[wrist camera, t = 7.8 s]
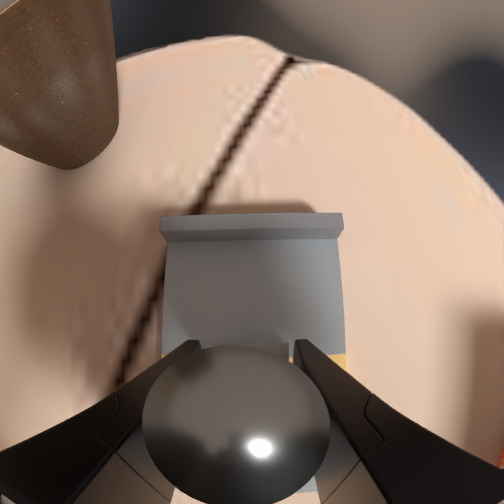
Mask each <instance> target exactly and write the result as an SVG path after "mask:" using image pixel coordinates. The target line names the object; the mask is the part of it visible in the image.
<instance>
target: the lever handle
mask: <svg viewBox="0 0 504 504" xmlns="http://www.w3.org/2000/svg"><path fill="white" fill-rule="evenodd" d="M142 430H143V437H144V441H145V444H146V448H147V450H148V453H149V455H150V457H151V459H152V461H153V462H154V464H155V466H156V467H157V468H158V470H159V471H160V472H161V474H162V475H163V476H164V477H165V478H166V479H167V480H168V481H169V482H170V483H171V484H172V485H174V486H175V487H176V488H177V489H179V490H180V491H182V492H183V493H185V494H187V495H188V496H190V497H192V498H194V499H196V500H198V501H201V502H204V503H207V504H273V503H276V502H278V501H281V500H283V499H285V498H287V497H289V496H291V495H292V494H294V493H295V492H297V491H298V490H300V489H301V488H302V487H303V486H304V485H305V484H307V483H308V482H309V481H310V480H311V478H312V477H313V476H314V475H315V474H316V472H317V471H318V469H319V468H320V466H321V464H322V463H323V460H324V458H325V456H326V453H327V450H328V446H329V441H330V419H329V414H328V410H327V407H326V404H325V401H324V399H323V397H322V395H321V393H320V392H319V390H318V388H317V387H316V386H315V384H314V383H313V382H312V380H311V379H310V378H309V377H308V376H307V375H306V374H305V373H304V372H303V371H302V370H300V369H299V368H298V367H297V366H295V365H294V364H293V363H291V362H289V342H288V343H214V347H209V348H205V349H201V350H198V351H195V352H193V353H190V354H188V355H186V356H184V357H182V358H181V359H179V360H177V361H176V362H174V363H173V364H172V365H170V366H169V367H168V368H167V369H166V370H165V371H164V372H163V373H162V374H161V375H160V376H159V377H158V378H157V380H156V381H155V383H154V384H153V386H152V387H151V389H150V391H149V393H148V395H147V398H146V401H145V405H144V409H143V415H142Z"/></svg>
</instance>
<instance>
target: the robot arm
mask: <svg viewBox="0 0 504 504" xmlns="http://www.w3.org/2000/svg"><path fill="white" fill-rule="evenodd" d="M201 349H202V348H201V343H200V341H199V340H191V339H189V340H186V341H185V342H184V343H182V344H181V345H179V346H178V347H177V348H175V349H174V350H173V351H171V352H170V353H168V354H167V355H166V356H164V357H163V358H162V359H160V360H159V361H157V362H156V363H155V364H153V365H152V366H150V367H149V368H148V369H146V370H145V371H143V372H142V373H141V374H139V375H138V376H136V377H135V378H134V379H132V380H131V381H129V382H128V383H126V384H125V385H124V386H122V387H121V388H119V389H118V390H117V392H116V391H114V392H113V393H111V394H110V395H108V396H107V397H105V398H104V399H102V400H101V401H99V402H98V403H96V404H95V405H93V406H91V407H89V408H88V409H86V410H84V411H82V412H81V413H79V414H77V415H75V416H73V417H71V418H69V419H67V420H65V421H63V422H61V423H59V424H57V425H55V426H53V427H51V428H49V429H47V430H45V431H43V432H41V433H39V434H37V435H35V436H33V437H31V438H29V439H27V440H25V441H22V442H20V443H18V444H16V445H14V446H12V447H9V448H7V449H5V450H3V451H0V504H170V503H171V502H170V501H171V500H172V496H173V492H174V488H175V486H174V485H172V484H171V483H170V482H169V481H168V480H167V479H166V478H165V477H164V476H163V475H162V474H161V472H160V471H159V470H158V468H157V467H156V466H155V464H154V462H153V461H152V459H151V457H150V455H149V453H148V450H147V448H146V444H145V441H144V437H143V430H142V415H143V409H144V405H145V401H146V398H147V395H148V393H149V391H150V389H151V387H152V386H153V384H154V383H155V381H156V380H157V378H158V377H159V376H160V375H161V374H162V373H163V372H164V371H165V370H166V369H167V368H168V367H169V366H170V365H172V364H173V363H174V362H176V361H177V360H179V359H181V358H182V357H184V356H186V355H188V354H190V353H193V352H195V351H198V350H201ZM293 364H294V365H295V366H297V367H298V368H299V369H300V370H302V371H303V372H304V373H305V374H306V375H307V376H308V377H309V378H310V379H311V380H312V382H313V383H314V384H315V386H316V387H317V388H318V390H319V392H320V393H321V395H322V397H323V399H324V401H325V404H326V407H327V410H328V414H329V419H330V441H329V446H328V450H327V453H326V456H325V458H324V460H323V463H322V464H321V466H320V468H319V469H318V471H317V472H316V474H315V475H314V477H315V481H316V485H317V490H318V494H319V498H320V503H321V504H504V468H498V467H496V466H494V465H492V464H490V463H488V462H486V461H484V460H482V459H480V458H478V457H476V456H474V455H472V454H470V453H468V452H467V451H465V450H463V449H461V448H459V447H457V446H455V445H454V444H452V443H450V442H448V441H446V440H445V439H443V438H441V437H439V436H438V435H436V434H434V433H432V432H431V431H429V430H427V429H426V428H424V427H422V426H420V425H419V424H417V423H415V422H414V421H412V420H410V419H409V418H407V417H406V416H404V415H402V414H401V413H399V412H398V411H396V410H395V409H393V408H392V407H391V406H389V405H388V404H387V403H385V402H384V401H383V400H381V399H380V398H379V397H377V396H376V395H375V394H374V393H372V394H371V391H369V390H368V389H367V388H366V387H364V386H363V385H362V384H361V383H360V382H358V381H357V380H356V379H355V378H353V377H352V376H351V375H350V374H349V373H347V372H346V371H345V370H344V369H342V368H341V367H340V366H339V365H338V364H336V363H335V362H334V361H333V360H332V359H330V358H329V357H328V356H327V355H326V354H324V353H323V352H322V351H321V350H320V349H319V348H317V347H316V346H315V345H314V344H313V343H311V342H310V341H309V340H308V339H296V340H295V342H294V351H293Z"/></svg>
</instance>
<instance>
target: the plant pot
mask: <svg viewBox="0 0 504 504" xmlns="http://www.w3.org/2000/svg"><path fill="white" fill-rule="evenodd" d="M118 123H119V121H118V88H117V72H116V57H115V46H114V35H113V24H112V14H111V5H110V0H16V1H14V2H13V3H12V4H10V5H9V6H8V7H6V8H5V9H4V10H3V11H1V12H0V145H1V146H3V147H6V148H8V149H10V150H12V151H14V152H16V153H19V154H21V155H23V156H26V157H28V158H31V159H33V160H36V161H38V162H41V163H44V164H47V165H50V166H53V167H56V168H60V169H63V170H70V169H75V168H78V167H80V166H82V165H84V164H86V163H88V162H89V161H91V160H93V159H94V158H95V157H96V156H98V155H99V154H100V153H101V152H102V151H103V150H104V149H105V148H106V147H107V145H108V144H109V143H110V142H111V140H112V139H113V137H114V135H115V133H116V131H117V128H118Z"/></svg>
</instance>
